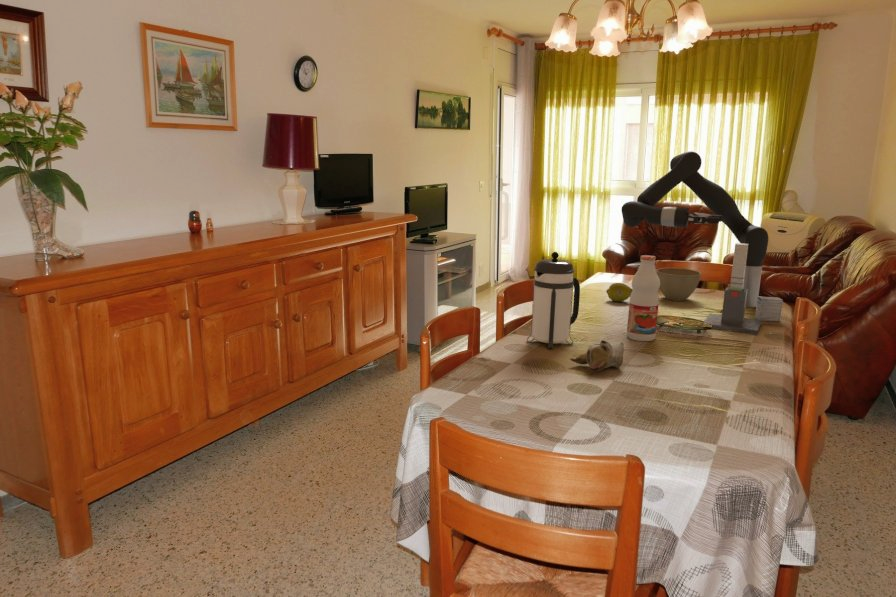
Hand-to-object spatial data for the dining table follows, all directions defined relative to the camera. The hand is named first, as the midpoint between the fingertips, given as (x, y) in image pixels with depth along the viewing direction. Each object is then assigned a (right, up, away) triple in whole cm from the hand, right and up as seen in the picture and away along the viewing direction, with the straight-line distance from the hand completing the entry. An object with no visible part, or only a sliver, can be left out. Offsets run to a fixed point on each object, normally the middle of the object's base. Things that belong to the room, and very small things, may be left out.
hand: (720, 219), depth 241 cm
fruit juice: (-35, -43, -20) cm, 59 cm away
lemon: (-29, -31, +34) cm, 54 cm away
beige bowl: (-2, -30, +42) cm, 52 cm away
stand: (+4, -39, -1) cm, 39 cm away
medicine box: (+22, -38, +9) cm, 44 cm away
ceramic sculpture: (-57, -50, -53) cm, 92 cm away
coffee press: (-67, -44, -28) cm, 85 cm away
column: (+4, -31, -3) cm, 31 cm away
